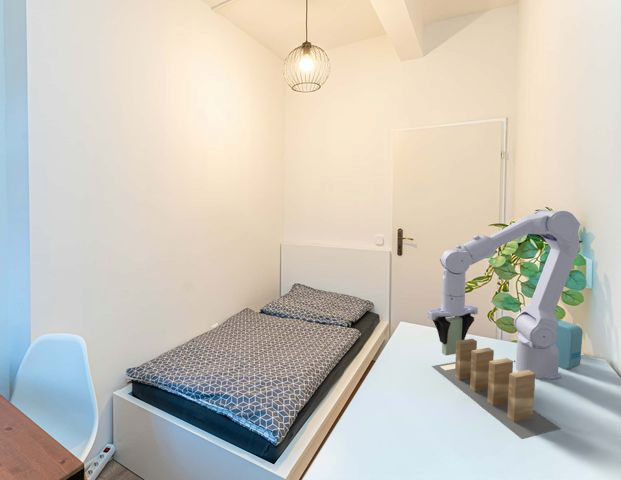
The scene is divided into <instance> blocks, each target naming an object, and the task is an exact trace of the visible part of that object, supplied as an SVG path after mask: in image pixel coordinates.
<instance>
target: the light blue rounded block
mask: <svg viewBox="0 0 621 480" xmlns="http://www.w3.org/2000/svg"><path fill="white" fill-rule="evenodd" d="M556 319H557V321H558V325H557V328H556V333H557V339H556V341H555V343H554V344H555V345H556V346H557V348H558V350H559V367H558V368H561V369H563V370H570V369H572V368H576V367H579V366H580V365H581V360H582V359H581V358H582V357H581V356H582V343H583V330H582V327H580V325H578V324H575V323H571V322H568V321H565V320H561V319H559V318H556Z"/></svg>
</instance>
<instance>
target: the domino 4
mask: <svg viewBox="0 0 621 480" xmlns="http://www.w3.org/2000/svg"><path fill="white" fill-rule="evenodd" d="M535 383H536V378H535V373H533V372H532V371H530V370H525V371H520V372H519V371H516V372H515V371H514V372H512V373H510V374H509V393H508V412H507V417H508V418H509V419H510V420H511V421H513V422H516V421H520V420H525V419H529V418H533V410H534V401H535V385H536V384H535Z"/></svg>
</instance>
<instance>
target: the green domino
mask: <svg viewBox="0 0 621 480" xmlns="http://www.w3.org/2000/svg"><path fill="white" fill-rule="evenodd" d="M446 319H447V321H449V322H450V323H451V324H450V327H449V330H448V340H447V344H443V343H442V342H441V343H442V344H441V354H443V355H444V356H452V355H456V341H460V340H462V318H461V317H455V316H453V317H446Z"/></svg>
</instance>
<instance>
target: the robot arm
mask: <svg viewBox="0 0 621 480" xmlns="http://www.w3.org/2000/svg"><path fill="white" fill-rule="evenodd" d="M580 227H581V223H580V221H579V220H578V219H577V218H576V216H575V214H573V213H571V212H570V211H567V210H548V209H539V210H536V211H534V212H533V213H530V214H527V215H524V217H521V218H520V219H519V220H516V221H515V222H513V223H511V224H509V225H508V226H505V227H504V228H502V229H500V230H499V231H497V232H495V233H493V234H491V235H489V236H488V235H484V234H481V235H477V234H476V235H473V236H472V237H471V238H472V239H471V240H469V241H468V242H465V243H463V244H461V245H460V244H457V245H455V249H451V248H449V249H447V250H445V251H444V252H443V254H441V257H440V258H439V262H440V264H441V266H442V282H441V285H442V286H441V305H440V307H438V308H434V309H433V310H427V319H429V320H431V321H432V322H433V323H434V325H435V328H436V330H437V334H438V338H439V342H440V343H443V344H447V340H448V330H449V327H450V324H451V323H450V322H449V321H447V319H446V318H451V317H461V318H462V340H466V336H467V334H468V331H469V329H470V327H471V326H472V324H473V323H474V322H475V317H474V316H472V315H478V313H479V310H478V309H479V307H477V306H474V305H465V304H466V303H465V302H466V273H467V271H468V270H469V268H470V267H471V266H472V265H474V264H477V263H478V262H480V261H482V260H484V259H486V258H488V257H490V256H493V255H495V253H496V250H497V248H499V247H500V246H503V245H506V244H508V243H509V242H510V243H511V242H512V241H515V240H518V239H519V238H522V237H524V236H526V235H539V236H540V237H541V238H543V240H544V241H545V242H546V243H547V245H548V246H549V247H550V250H549V252H548V256H547V259H546V260H545V264H544V266H543V268H542V271H541V274H540V277H539V279H538V282H537V284H536V288H535V289H534V293H533V294H532V298H531V300H530V302H529V303H528V304H526V305H524V306H523V307H522V309H521V311H520V312H519V313H518V314H517V315H516V316H515V318H514V320H513V327H514V328H515V330H516V331H517V338H516V340H517V341H516V342H517V343H516V360H515V369H516V370H517V372H520V371H525V370H530V371H532V372H533V373H535V379H546V378H548V379H550V380H555V379H560V378H562V375H561V374H559V368H560V367H559V350H558V348H557V346H556V345H555V344H554V343H555V341H556V339H557V333H556V328H557V325H558V321H557V319H558V318H557V316H556V314H555V312H556V308H557V306H558V304H559V301H560V300H561V299H560V298H561V296H562V294H563V291H564V288H565V286H566V284H567V281H568V279H569V276H570V274H571V271H572V269H573V265H574V263H575V261H576V258H577V256H578V253H579V251H580V248H581V245H580V238H579V237H580V236H579V229H580Z"/></svg>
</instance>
